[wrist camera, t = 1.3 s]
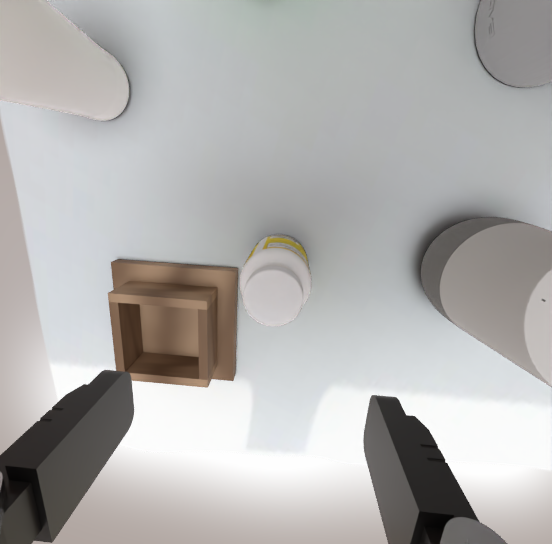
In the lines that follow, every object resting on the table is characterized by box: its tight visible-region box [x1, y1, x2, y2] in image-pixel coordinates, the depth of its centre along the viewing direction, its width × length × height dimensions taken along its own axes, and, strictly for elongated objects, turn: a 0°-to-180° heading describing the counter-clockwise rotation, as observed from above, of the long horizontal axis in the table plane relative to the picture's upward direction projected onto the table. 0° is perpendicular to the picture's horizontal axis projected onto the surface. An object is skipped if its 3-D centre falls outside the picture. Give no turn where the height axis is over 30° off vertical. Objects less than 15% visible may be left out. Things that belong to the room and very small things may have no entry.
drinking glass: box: [0, 0, 129, 121], centre depth 18 cm, size 7×7×15 cm
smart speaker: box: [421, 217, 552, 387], centre depth 21 cm, size 10×9×14 cm
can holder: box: [108, 259, 238, 387], centre depth 29 cm, size 12×12×5 cm
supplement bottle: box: [239, 234, 311, 326], centre depth 24 cm, size 5×5×10 cm
